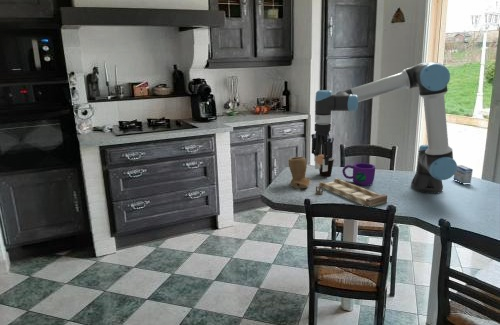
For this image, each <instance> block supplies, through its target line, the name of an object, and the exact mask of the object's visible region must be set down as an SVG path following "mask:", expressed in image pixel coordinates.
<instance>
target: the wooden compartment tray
mask: <svg viewBox="0 0 500 325" xmlns="http://www.w3.org/2000/svg"><path fill="white" fill-rule="evenodd" d="M318 184H319V185H318V187H319V186H320V188H322V187H323V190H327V191H329V192H331V193H334V194H335V195H339V196H341V197H343V198H346V199H347V200H351V201H353V202H355V203H357V204H359V205H362V206H364V205H366V206H373V207H376V206H379V205H383V204H386V203H387V202H388V195H387V194H385V193H383V194H380V193H376V192H374V191H372V190H369V189H366V188H364V187H362V186H360V185H357V184H355V183H350V182H348V181H345V180H342V179H340V178H337V177H334V180H333V181H330V182H324V181H323V180H322V181H319V182H318ZM366 206H365V207H366Z"/></svg>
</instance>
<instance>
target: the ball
mask: <svg viewBox="0 0 500 325" xmlns="http://www.w3.org/2000/svg"><path fill="white" fill-rule="evenodd" d="M323 158H324V154H320V155H318V156H317V158H316V161H317V163H318V164H320V165H323Z"/></svg>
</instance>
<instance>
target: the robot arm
mask: <svg viewBox="0 0 500 325" xmlns="http://www.w3.org/2000/svg"><path fill="white" fill-rule="evenodd" d="M450 79H451V73H450V70H449V69H448V67H446V66H445V65H444V64H442V63H440V62H429V61H425V62H420V63H418V64H415V65H414V66H411V67H407V68H405V69H403V70H402V71H401V72H399V73H396V74H393V75H389V76H387V77H383V78H381V79H377V80H375V81H371V82H369V83H364V84H362V85H358V86H355V87H351V88H350V89H345V90H340V91H337V92H336V93H335V94H333V91H332V90H331V89H330V90H329V89H327V90H326V89H322V90H317V91H316V92H315V100H314V101H315V103H314V123H315V124H314V131H315V133H312V134H311V154H313V156H314V170H317V169H318V170H319V168H320V164H318V163H317V161H316V158H317V156H319V155H321V154H320V151H321V148H322V151H323V153H322V154H323V155H324V158H323V170H322V172H325V171H328V164H329V158H333V148H334V144H333V143H334V137H331V136H330V132H331V123H332V112H336V111H337V112H338V111H339V112H341V111H342V112H344V111H345V112H351V111H352V112H355V111H357V110H358V107H359V103H360V102H363V101H367V100H370V99H374V98H376V97H380V96H384V95H387V94H390V93H393V92H397V91H399V90H403V89H407V90H411V89H414V88H418V95H419V96H420V97H421V98H422V99H423V108H424V118H425V119H424V120H425V126H426V127H425V129H426V138H427V144H422V145H420V146H419V148H418V155H417V162H416V171H415V174H414V176H413V178H412V180H411V183H410V187H411V189H412V190H414V191H417V192H420V193H425V194H439V193H438V192H440V193H442V192H443V191H442V190H444V189H443V188H444V185H443V181H446V180H450V179H451V178H452V177H454V174H455V173H456V171H457V161H456V159H454V154H453V148H452V147H450V146H449V137H448V126H447V113H446V101H445V95H446V94H447V93H448V90H449V89H448V84H449V82H450ZM441 191H442V192H441Z"/></svg>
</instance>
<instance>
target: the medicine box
mask: <svg viewBox="0 0 500 325" xmlns="http://www.w3.org/2000/svg"><path fill="white" fill-rule="evenodd" d="M473 171H474V170H473V169H472V168H470V167H468V166H465V165H461V164H459V165H457V171H456V173H455V174H454V175H453V179H454V180H457V181H459V182H461V183H470V184H471V182H472V176H473ZM454 180H453V181H454ZM461 183H460V184H461Z"/></svg>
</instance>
